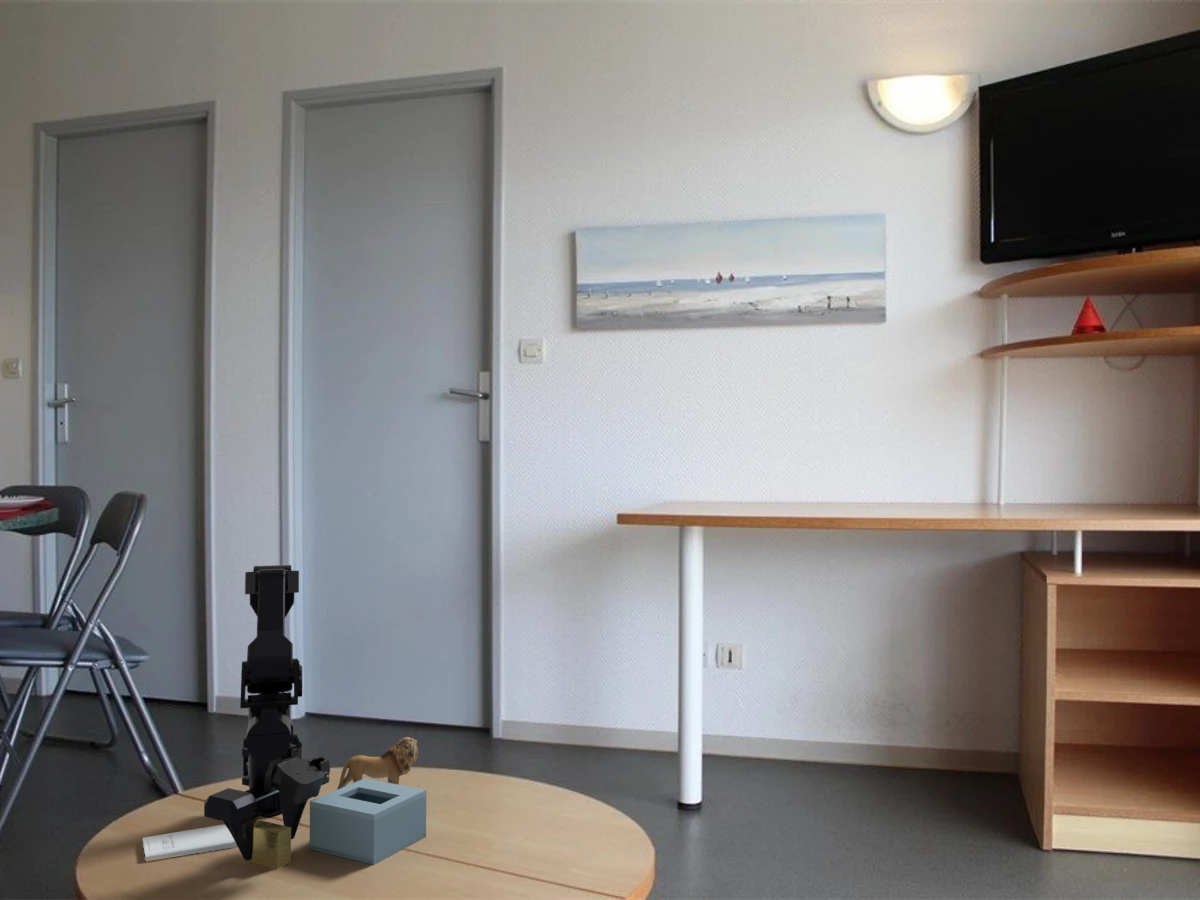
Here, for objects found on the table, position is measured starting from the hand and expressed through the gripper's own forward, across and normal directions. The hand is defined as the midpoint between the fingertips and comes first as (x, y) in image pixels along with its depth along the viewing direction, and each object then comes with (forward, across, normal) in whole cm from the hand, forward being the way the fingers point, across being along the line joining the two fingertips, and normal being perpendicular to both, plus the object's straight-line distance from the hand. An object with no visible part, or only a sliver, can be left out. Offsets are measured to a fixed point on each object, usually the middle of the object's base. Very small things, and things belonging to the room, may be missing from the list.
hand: (269, 849), depth 141 cm
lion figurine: (+2, +30, +5) cm, 30 cm away
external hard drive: (+2, -2, +14) cm, 15 cm away
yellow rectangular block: (+2, -1, 0) cm, 2 cm away
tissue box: (+2, +11, -9) cm, 14 cm away
